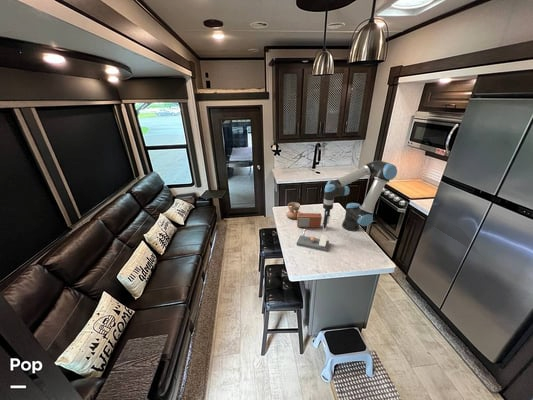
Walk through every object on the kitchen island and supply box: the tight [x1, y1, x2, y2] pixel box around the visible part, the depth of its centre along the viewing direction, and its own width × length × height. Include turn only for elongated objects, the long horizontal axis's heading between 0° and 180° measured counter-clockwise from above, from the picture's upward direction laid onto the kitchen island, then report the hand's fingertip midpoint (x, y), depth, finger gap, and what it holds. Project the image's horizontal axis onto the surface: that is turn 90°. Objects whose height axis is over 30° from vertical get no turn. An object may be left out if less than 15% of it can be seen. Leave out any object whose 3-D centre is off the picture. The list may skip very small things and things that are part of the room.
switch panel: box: [296, 235, 330, 252], centre depth 176 cm, size 24×12×4 cm, turn 67°
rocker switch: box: [319, 234, 328, 247], centre depth 172 cm, size 5×11×1 cm, turn 157°
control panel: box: [296, 212, 323, 228], centre depth 200 cm, size 21×7×15 cm, turn 85°
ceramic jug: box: [286, 201, 301, 220], centre depth 219 cm, size 18×14×14 cm
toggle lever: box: [302, 228, 307, 239], centre depth 179 cm, size 2×2×8 cm
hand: (325, 227), depth 179 cm, fingers open, 13 cm apart
